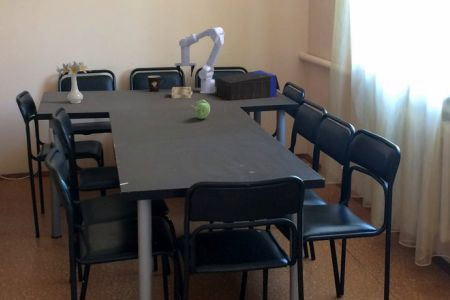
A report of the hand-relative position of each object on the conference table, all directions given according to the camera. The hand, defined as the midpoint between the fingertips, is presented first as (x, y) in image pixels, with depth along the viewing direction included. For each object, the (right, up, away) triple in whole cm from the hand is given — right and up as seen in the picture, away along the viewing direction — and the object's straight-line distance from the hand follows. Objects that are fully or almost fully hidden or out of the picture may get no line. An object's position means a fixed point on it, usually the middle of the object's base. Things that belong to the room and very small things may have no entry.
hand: (185, 76), depth 391 cm
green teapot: (+14, -33, -82) cm, 89 cm away
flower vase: (-66, -21, -36) cm, 78 cm away
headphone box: (+41, -14, -15) cm, 46 cm away
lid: (-2, -12, -4) cm, 13 cm away
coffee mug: (-20, -10, 0) cm, 22 cm away
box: (-2, -15, -18) cm, 23 cm away
